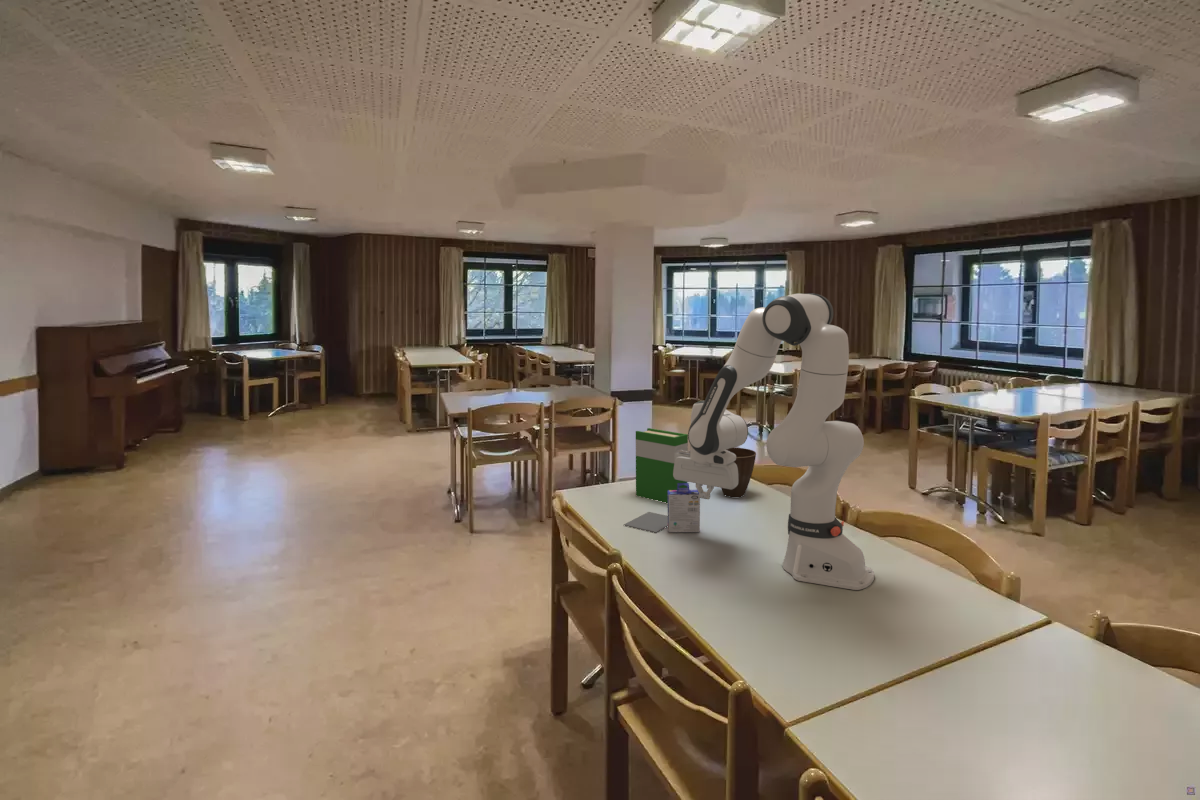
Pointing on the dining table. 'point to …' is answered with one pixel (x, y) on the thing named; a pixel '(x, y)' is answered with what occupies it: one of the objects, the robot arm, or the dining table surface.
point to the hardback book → (657, 462)
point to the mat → (649, 522)
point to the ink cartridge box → (683, 509)
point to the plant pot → (741, 470)
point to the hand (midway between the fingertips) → (704, 498)
